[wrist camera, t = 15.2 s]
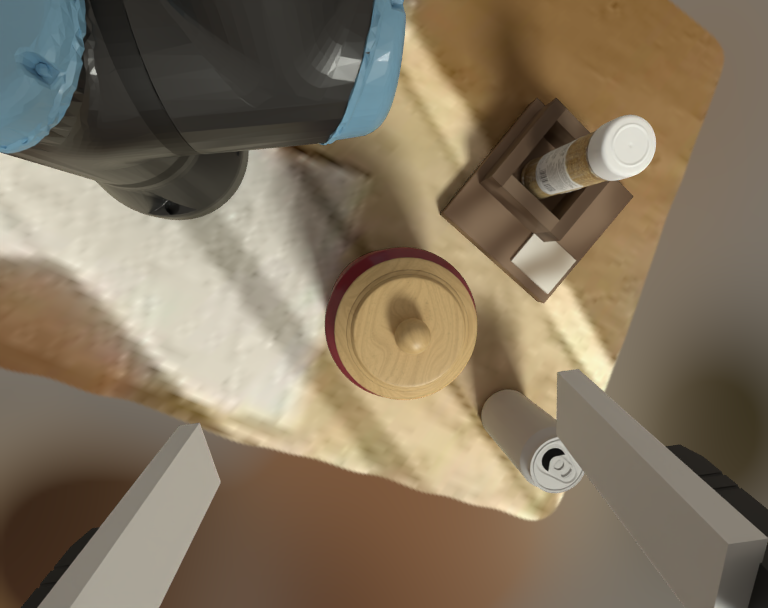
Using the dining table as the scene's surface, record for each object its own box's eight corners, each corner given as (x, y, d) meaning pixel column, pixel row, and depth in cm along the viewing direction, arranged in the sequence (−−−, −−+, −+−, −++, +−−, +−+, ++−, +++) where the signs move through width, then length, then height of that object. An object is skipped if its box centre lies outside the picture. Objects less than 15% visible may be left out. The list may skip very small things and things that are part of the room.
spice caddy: (439, 214, 42) (452, 208, 37) (530, 103, 41) (555, 82, 36) (537, 301, 44) (561, 307, 39) (623, 198, 44) (659, 191, 39)
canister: (365, 228, 41) (381, 207, 24) (461, 284, 43) (540, 303, 26) (309, 328, 42) (284, 379, 24) (406, 379, 44) (447, 459, 26)
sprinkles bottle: (560, 193, 41) (663, 167, 28) (523, 204, 41) (608, 183, 28) (552, 152, 41) (654, 106, 27) (514, 163, 40) (598, 121, 27)
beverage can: (505, 376, 45) (562, 419, 33) (537, 410, 46) (604, 463, 34) (468, 413, 45) (512, 468, 33) (502, 445, 46) (556, 510, 34)
